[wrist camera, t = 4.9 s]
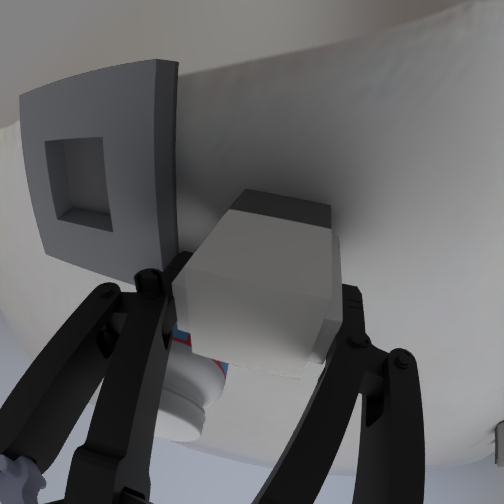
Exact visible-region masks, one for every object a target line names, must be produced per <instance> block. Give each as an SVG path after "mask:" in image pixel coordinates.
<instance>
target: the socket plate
mask: <svg viewBox="0 0 504 504" xmlns="http://www.w3.org/2000/svg"><path fill="white" fill-rule="evenodd" d="M178 65H179V62H175V61H168V60H160V59H153V60H146V61H139V62H133V63H127V64H121V65H116V66H111V67H107V68H102V69H98V70H94V71H90V72H86V73H83V74H79V75H75V76H72V77H69V78H65V79H63V80H59V81H56V82H54V83H50V84H47V85H45V86H42V87H39V88H37V89H34V90H32V91H29V92H27V93H24V94H22V95H20V96H19V101H20V125H21V138H22V148H23V156H24V163H25V170H26V176H27V182H28V187H29V192H30V197H31V201H32V206H33V210H34V214H35V218H36V222H37V226H38V229H39V233H40V237H41V240H42V243H43V246H44V250H45V253H46V254H47V255H49V256H52V257H55V258H57V259H60V260H63V261H65V262H68V263H71V264H73V265H76V266H79V267H82V268H85V269H87V270H90V271H93V272H96V273H99V274H102V275H105V276H108V277H111V278H114V279H117V280H120V281H123V282H126V283H129V284H132V285H135V281H134V276H135V274H136V273H137V272H139V271H141V270H143V269H147V268H154V269H159V270H160V271H162V272H163V271H164V270H165V268H167V266H168V265H169V263H171V261H172V260H173V259H174V257H175V256H176V255H178V254H179V251H178V235H177V215H176V184H175V128H176V98H177V79H178Z"/></svg>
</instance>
